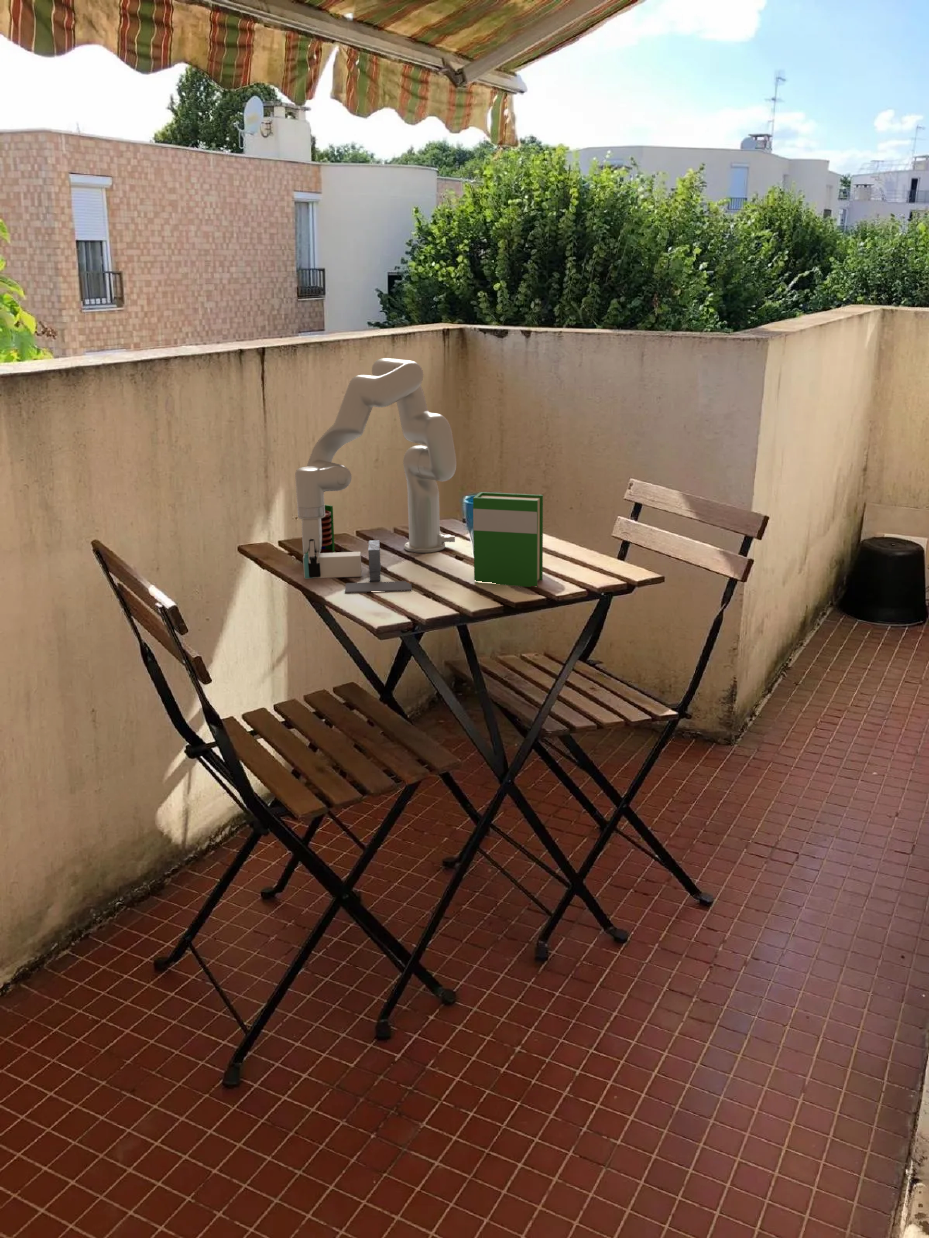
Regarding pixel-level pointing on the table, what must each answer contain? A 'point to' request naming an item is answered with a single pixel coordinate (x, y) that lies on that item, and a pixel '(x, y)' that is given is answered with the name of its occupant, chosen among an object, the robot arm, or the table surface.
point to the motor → (327, 531)
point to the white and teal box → (336, 564)
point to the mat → (377, 587)
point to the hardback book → (508, 538)
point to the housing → (374, 560)
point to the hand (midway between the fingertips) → (315, 573)
